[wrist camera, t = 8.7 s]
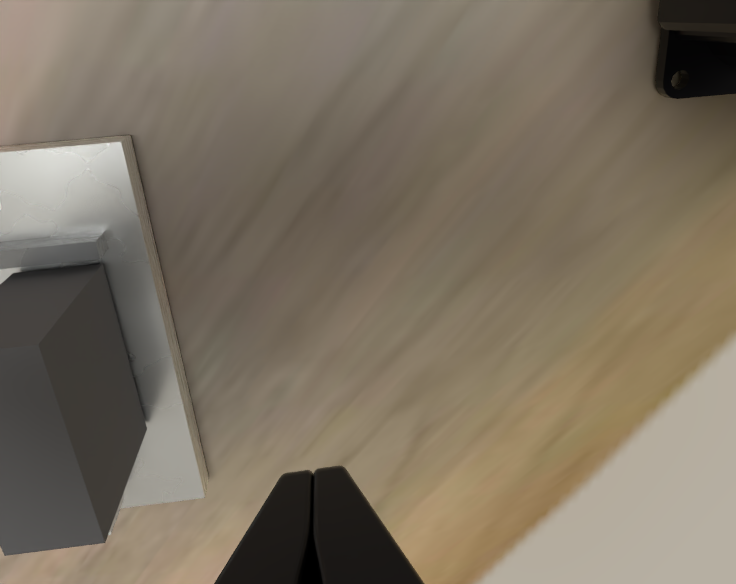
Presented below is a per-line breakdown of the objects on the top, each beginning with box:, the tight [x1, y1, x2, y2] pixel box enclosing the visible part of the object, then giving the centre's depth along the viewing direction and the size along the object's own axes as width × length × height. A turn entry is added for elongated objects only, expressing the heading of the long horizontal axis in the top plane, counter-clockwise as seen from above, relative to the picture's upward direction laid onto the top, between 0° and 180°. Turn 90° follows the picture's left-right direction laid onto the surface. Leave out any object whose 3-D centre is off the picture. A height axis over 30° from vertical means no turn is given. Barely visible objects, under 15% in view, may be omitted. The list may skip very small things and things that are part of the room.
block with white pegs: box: [0, 264, 147, 556], centre depth 16 cm, size 6×8×5 cm
